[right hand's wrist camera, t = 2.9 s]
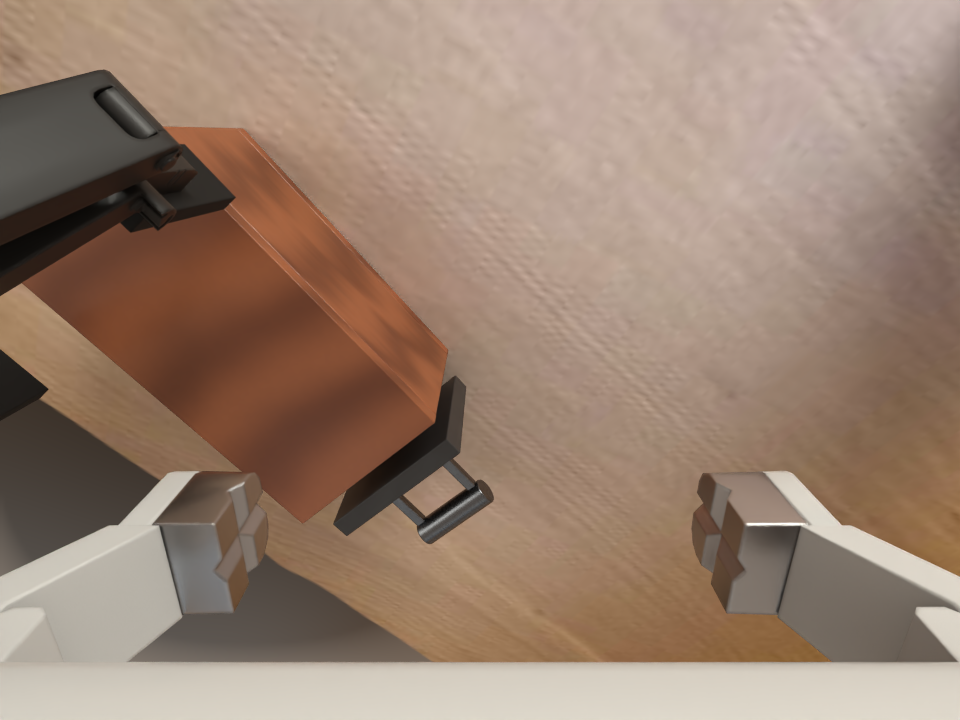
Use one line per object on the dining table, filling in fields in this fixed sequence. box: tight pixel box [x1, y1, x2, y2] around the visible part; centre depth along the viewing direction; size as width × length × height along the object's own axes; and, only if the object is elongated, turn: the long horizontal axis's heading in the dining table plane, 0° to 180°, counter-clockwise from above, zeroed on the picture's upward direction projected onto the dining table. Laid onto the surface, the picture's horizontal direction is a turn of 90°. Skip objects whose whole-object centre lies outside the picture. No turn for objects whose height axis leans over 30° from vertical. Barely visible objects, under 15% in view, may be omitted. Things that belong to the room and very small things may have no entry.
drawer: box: [333, 376, 494, 544], centre depth 35 cm, size 24×9×9 cm, turn 40°
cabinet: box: [22, 127, 448, 523], centre depth 34 cm, size 19×10×11 cm, turn 40°
